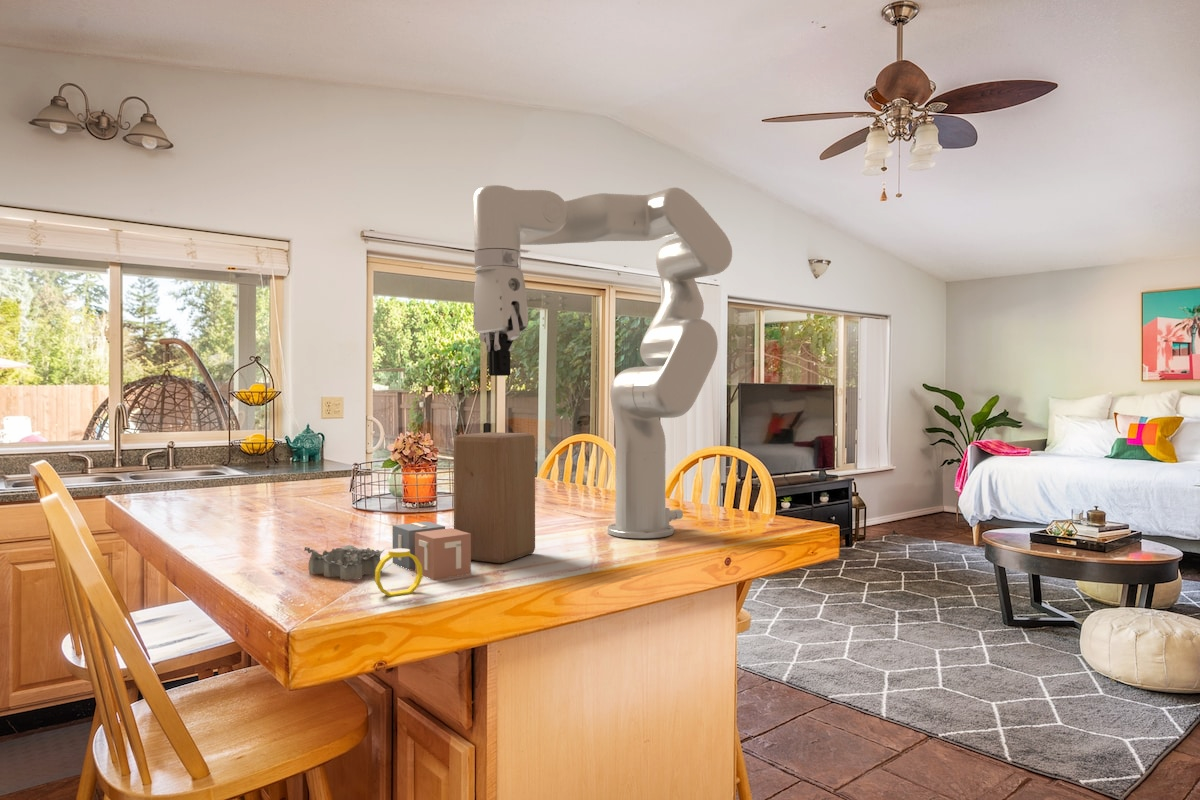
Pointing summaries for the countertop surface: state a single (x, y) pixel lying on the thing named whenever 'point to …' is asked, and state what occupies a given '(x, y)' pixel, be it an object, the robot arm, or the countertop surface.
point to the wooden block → (495, 494)
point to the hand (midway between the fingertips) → (499, 375)
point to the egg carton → (344, 562)
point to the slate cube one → (409, 540)
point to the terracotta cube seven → (443, 553)
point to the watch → (398, 553)
